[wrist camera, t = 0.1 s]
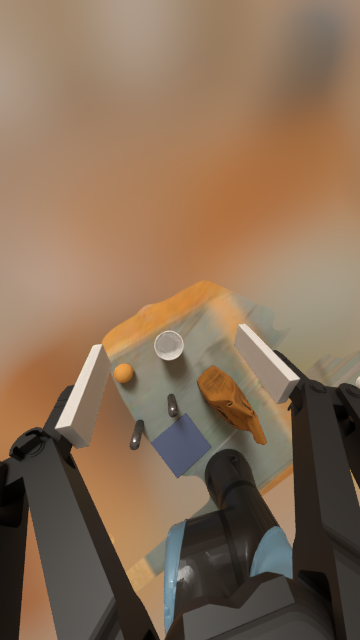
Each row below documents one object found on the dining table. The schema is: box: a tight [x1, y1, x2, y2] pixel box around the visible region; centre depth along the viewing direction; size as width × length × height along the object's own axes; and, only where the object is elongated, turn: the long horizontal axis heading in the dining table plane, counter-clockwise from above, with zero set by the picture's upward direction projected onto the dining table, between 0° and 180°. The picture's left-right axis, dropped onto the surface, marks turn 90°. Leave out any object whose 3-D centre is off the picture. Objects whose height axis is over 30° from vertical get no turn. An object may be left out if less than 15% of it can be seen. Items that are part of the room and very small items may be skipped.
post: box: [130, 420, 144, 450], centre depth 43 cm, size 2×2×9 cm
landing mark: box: [151, 413, 211, 478], centre depth 48 cm, size 14×14×1 cm
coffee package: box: [197, 366, 267, 445], centre depth 40 cm, size 10×12×22 cm
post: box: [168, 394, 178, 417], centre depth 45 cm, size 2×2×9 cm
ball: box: [114, 364, 133, 383], centre depth 45 cm, size 6×6×6 cm
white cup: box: [154, 331, 184, 360], centre depth 45 cm, size 8×8×10 cm
